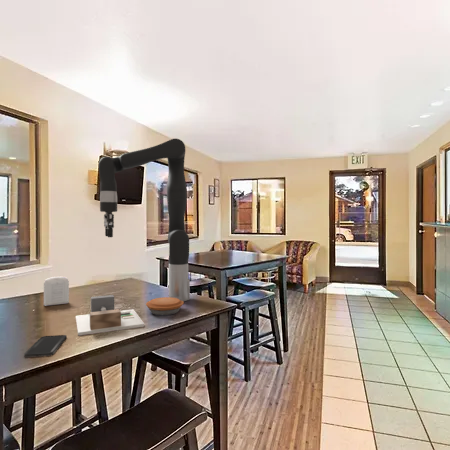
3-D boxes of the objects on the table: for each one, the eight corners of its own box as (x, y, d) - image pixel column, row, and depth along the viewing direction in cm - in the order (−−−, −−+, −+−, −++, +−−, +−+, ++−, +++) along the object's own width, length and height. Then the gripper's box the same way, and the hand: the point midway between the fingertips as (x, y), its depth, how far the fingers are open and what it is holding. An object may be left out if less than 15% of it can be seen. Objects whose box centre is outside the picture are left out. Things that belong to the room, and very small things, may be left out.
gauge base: (133, 311, 142) (133, 308, 142) (144, 326, 123) (144, 322, 123) (75, 318, 133) (75, 314, 133) (78, 335, 114) (77, 331, 114)
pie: (167, 319, 132) (167, 306, 132) (137, 313, 140) (137, 301, 140) (190, 309, 146) (190, 298, 146) (162, 304, 153) (162, 293, 153)
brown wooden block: (119, 322, 124) (119, 309, 124) (120, 325, 121) (120, 311, 120) (89, 326, 120) (89, 312, 120) (90, 330, 116) (90, 315, 116)
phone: (67, 334, 112) (52, 352, 98) (67, 338, 113) (52, 356, 98) (41, 336, 111) (22, 354, 96) (41, 339, 111) (22, 358, 96)
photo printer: (68, 301, 159) (67, 274, 158) (69, 303, 155) (69, 276, 155) (43, 304, 153) (42, 277, 153) (44, 306, 149) (43, 278, 149)
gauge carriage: (129, 313, 134) (129, 293, 134) (132, 318, 128) (132, 297, 127) (91, 318, 128) (90, 296, 128) (92, 323, 122) (92, 301, 121)
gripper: (119, 201, 152) (119, 237, 152) (115, 202, 165) (115, 235, 165) (101, 200, 149) (101, 238, 149) (98, 201, 162) (98, 236, 162)
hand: (108, 236), depth 157 cm, fingers open, 8 cm apart
